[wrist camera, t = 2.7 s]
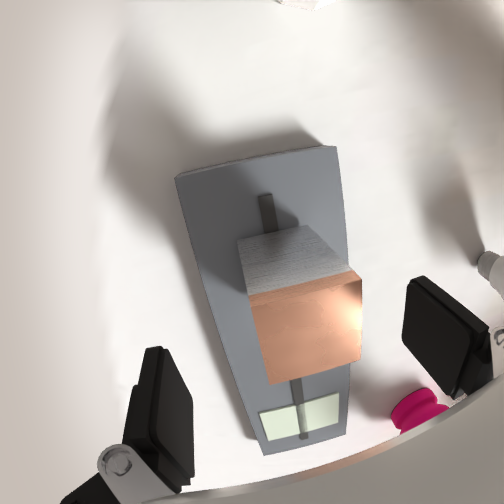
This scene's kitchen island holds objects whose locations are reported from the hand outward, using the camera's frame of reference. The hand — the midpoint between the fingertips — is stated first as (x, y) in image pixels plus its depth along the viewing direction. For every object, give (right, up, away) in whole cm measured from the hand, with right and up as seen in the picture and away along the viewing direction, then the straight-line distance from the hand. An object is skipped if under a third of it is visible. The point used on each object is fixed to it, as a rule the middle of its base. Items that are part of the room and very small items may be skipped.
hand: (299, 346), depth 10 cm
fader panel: (+1, -4, +12) cm, 13 cm away
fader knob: (0, +3, +7) cm, 7 cm away
